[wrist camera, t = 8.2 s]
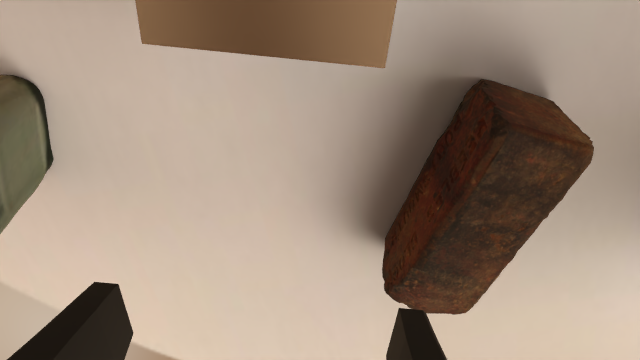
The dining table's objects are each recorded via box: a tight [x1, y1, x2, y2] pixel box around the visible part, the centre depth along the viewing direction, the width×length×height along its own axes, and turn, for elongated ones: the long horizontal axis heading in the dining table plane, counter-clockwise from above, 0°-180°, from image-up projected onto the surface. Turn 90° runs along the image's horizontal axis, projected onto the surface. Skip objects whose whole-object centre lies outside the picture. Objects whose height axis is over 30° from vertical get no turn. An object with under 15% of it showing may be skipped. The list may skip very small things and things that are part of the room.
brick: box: [382, 79, 594, 314], centre depth 19 cm, size 11×4×5 cm, turn 164°
